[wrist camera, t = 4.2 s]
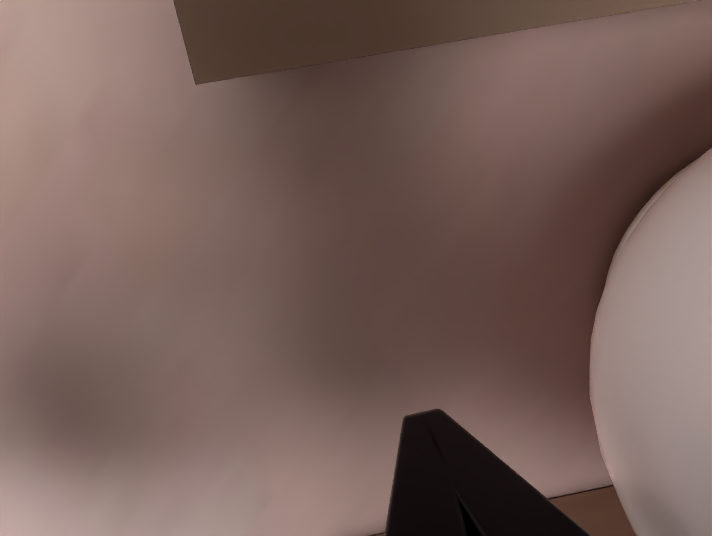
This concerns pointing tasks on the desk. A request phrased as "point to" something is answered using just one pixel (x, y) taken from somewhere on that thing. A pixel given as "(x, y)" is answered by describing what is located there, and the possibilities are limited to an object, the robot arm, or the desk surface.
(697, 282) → the lidded jar
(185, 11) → the rail
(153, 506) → the desk surface
